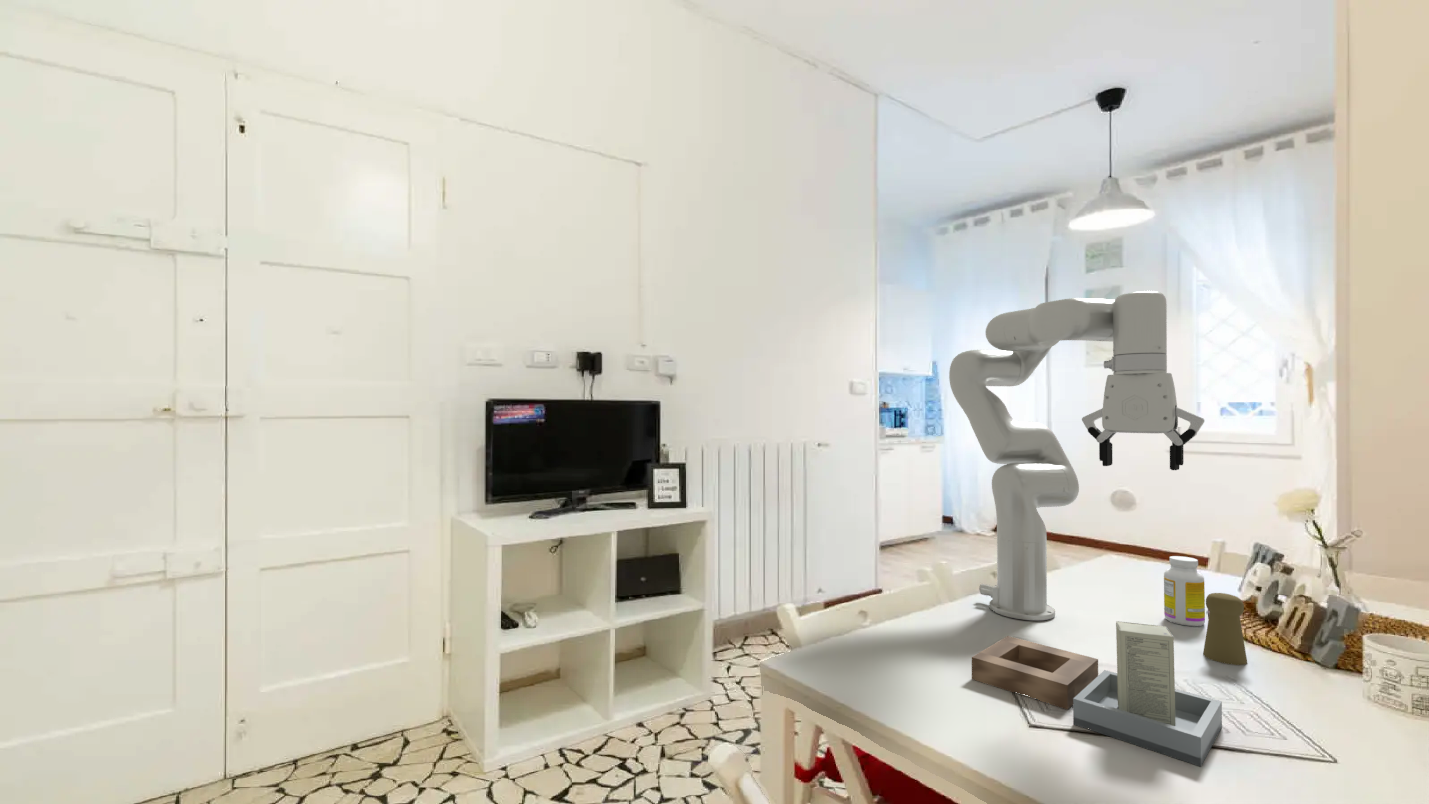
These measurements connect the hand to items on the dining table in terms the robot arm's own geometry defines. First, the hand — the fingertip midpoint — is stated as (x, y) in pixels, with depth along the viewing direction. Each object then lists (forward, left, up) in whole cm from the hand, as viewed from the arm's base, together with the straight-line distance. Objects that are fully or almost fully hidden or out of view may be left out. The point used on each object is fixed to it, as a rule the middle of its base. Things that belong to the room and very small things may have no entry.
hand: (1139, 467), depth 107 cm
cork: (+9, +15, -34) cm, 38 cm away
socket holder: (-10, -19, -33) cm, 40 cm away
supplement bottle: (0, +33, -34) cm, 47 cm away
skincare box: (+6, -23, -32) cm, 40 cm away
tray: (+6, -23, -33) cm, 41 cm away
